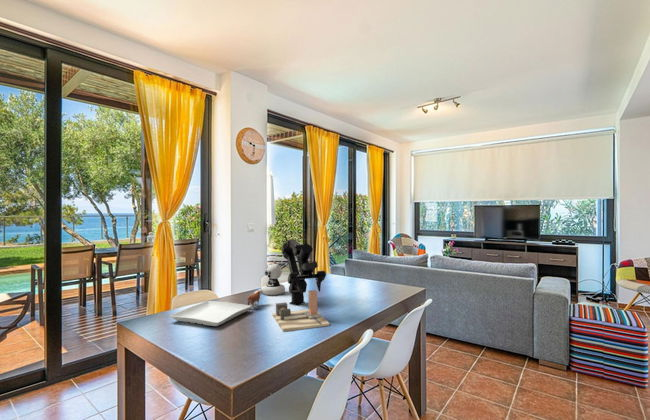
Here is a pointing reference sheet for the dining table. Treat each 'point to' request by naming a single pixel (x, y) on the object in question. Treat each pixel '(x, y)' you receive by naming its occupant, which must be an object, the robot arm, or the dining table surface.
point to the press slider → (311, 313)
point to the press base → (297, 320)
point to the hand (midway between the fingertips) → (310, 292)
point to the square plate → (210, 313)
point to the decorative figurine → (273, 280)
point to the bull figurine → (254, 298)
